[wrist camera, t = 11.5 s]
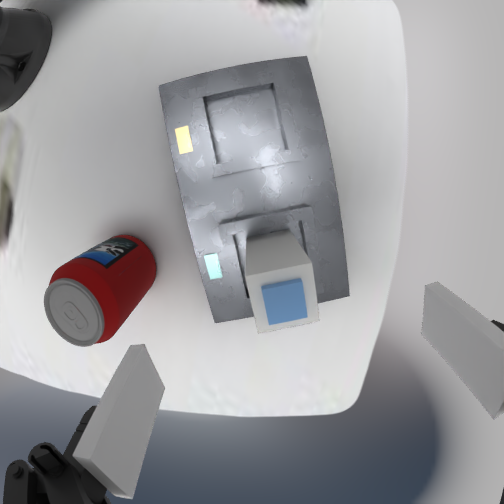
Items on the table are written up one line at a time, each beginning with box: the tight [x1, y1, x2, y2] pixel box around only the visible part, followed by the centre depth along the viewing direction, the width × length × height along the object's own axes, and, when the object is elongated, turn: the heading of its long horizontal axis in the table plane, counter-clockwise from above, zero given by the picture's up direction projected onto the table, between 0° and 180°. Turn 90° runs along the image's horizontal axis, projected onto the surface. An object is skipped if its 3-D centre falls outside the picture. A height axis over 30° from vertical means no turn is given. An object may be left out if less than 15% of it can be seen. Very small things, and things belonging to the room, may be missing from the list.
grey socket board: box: [159, 56, 350, 323], centre depth 25 cm, size 24×14×4 cm, turn 12°
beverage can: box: [44, 235, 156, 347], centre depth 23 cm, size 7×7×12 cm
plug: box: [245, 229, 320, 333], centre depth 22 cm, size 4×4×11 cm
